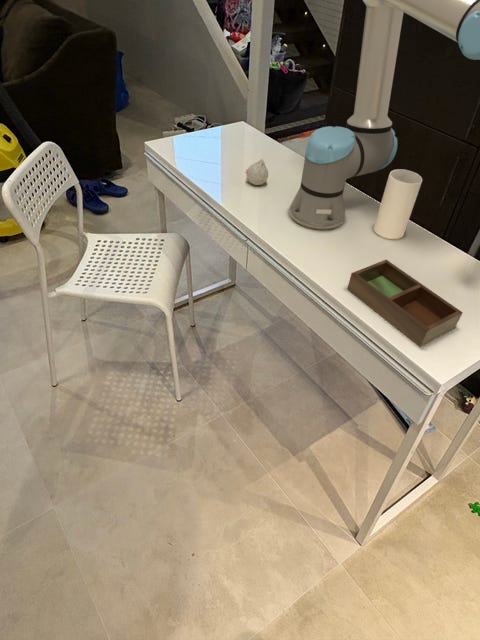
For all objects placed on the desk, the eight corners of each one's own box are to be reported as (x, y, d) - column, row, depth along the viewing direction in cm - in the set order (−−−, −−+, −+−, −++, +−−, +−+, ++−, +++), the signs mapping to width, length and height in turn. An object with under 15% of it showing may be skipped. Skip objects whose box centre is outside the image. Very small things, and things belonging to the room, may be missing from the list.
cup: (398, 242, 130) (417, 187, 120) (369, 232, 133) (385, 177, 122) (407, 229, 136) (426, 175, 125) (378, 220, 139) (394, 166, 128)
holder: (381, 274, 119) (386, 259, 116) (455, 328, 106) (462, 312, 103) (346, 289, 113) (351, 273, 110) (420, 347, 100) (427, 330, 97)
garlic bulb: (246, 177, 153) (248, 152, 147) (268, 180, 152) (271, 155, 147) (243, 186, 148) (245, 161, 142) (265, 190, 147) (268, 164, 142)
